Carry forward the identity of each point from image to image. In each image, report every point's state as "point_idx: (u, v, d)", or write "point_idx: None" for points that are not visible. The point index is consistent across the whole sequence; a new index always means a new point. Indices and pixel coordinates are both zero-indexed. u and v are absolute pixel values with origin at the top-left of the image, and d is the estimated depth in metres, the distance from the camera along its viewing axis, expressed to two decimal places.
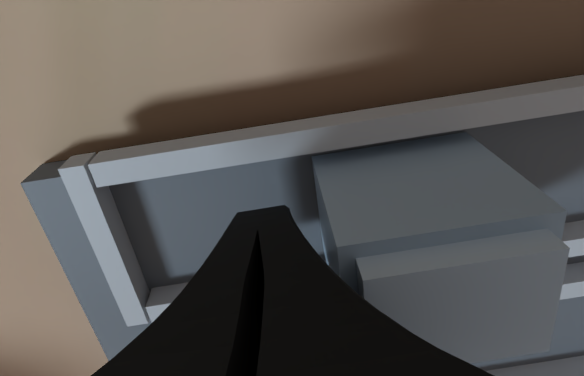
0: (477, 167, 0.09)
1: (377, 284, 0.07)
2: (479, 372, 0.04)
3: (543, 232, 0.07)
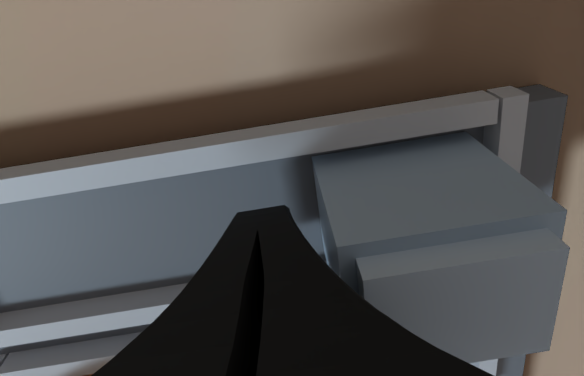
0: (477, 167, 0.09)
1: (377, 283, 0.07)
2: (479, 371, 0.04)
3: (543, 231, 0.07)
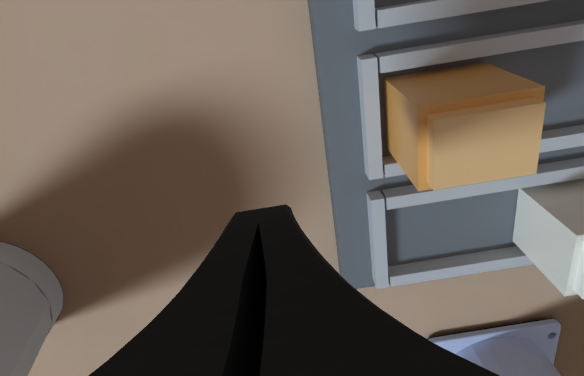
0: None
1: None
2: (483, 369, 0.04)
3: None
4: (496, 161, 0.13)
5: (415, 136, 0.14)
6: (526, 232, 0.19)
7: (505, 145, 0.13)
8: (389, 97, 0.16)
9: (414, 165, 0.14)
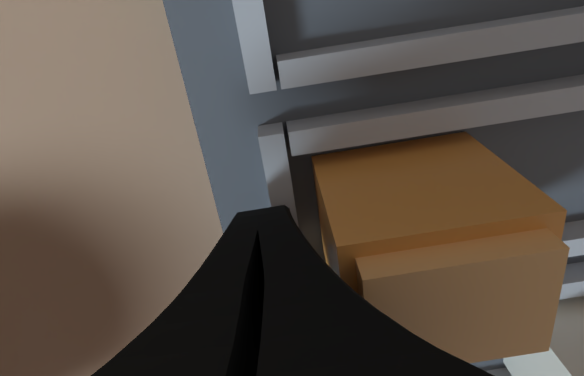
0: None
1: None
2: (480, 371, 0.04)
3: None
4: (479, 335, 0.08)
5: None
6: (522, 362, 0.13)
7: (495, 313, 0.07)
8: (317, 189, 0.10)
9: None
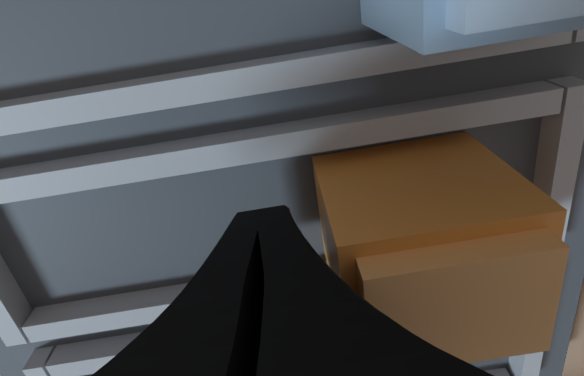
0: None
1: None
2: (479, 372, 0.04)
3: None
4: (479, 334, 0.08)
5: None
6: None
7: (495, 312, 0.07)
8: (317, 189, 0.10)
9: None
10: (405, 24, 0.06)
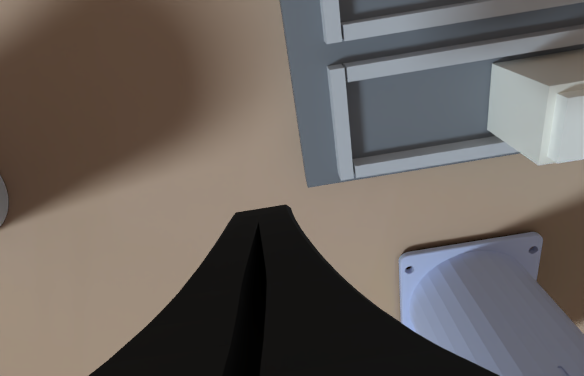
0: None
1: None
2: (483, 371, 0.04)
3: None
4: None
5: None
6: (500, 111, 0.18)
7: None
8: None
9: None
10: None
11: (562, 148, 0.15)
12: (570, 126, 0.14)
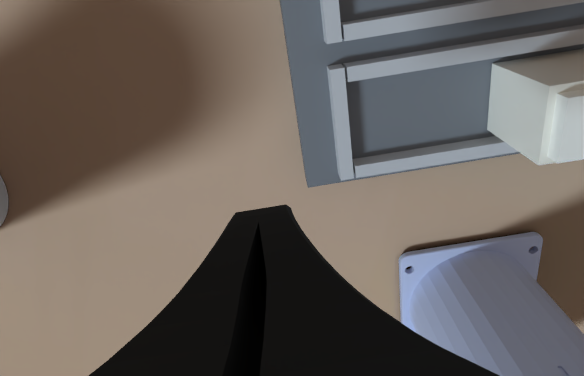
0: None
1: None
2: (483, 371, 0.04)
3: None
4: None
5: None
6: (500, 111, 0.18)
7: None
8: None
9: None
10: None
11: (562, 148, 0.15)
12: (570, 126, 0.14)
